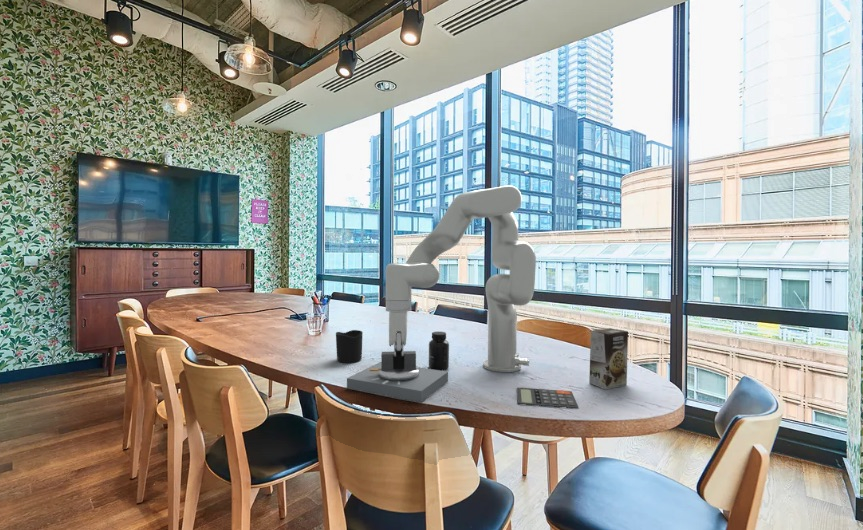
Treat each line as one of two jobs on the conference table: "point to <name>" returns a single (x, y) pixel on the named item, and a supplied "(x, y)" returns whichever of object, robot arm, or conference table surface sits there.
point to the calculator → (546, 397)
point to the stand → (399, 383)
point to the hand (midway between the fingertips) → (398, 366)
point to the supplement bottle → (438, 351)
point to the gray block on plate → (398, 375)
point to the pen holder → (349, 346)
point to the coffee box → (608, 358)
